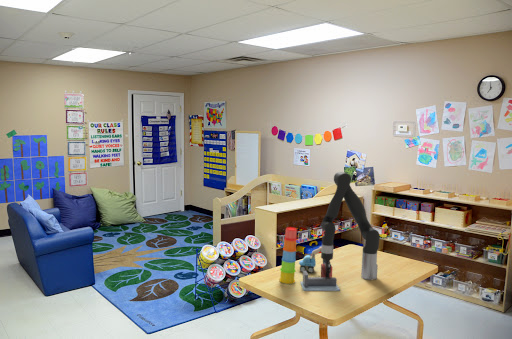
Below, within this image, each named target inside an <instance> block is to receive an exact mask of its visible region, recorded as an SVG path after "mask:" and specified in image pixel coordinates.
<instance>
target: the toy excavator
mask: <svg viewBox="0 0 512 339" xmlns="http://www.w3.org/2000/svg"><path fill="white" fill-rule="evenodd" d="M321 248H322V246H319V247H318V248H316V249H314V250H312V252H311V255H310V254H306V255H305V256H304V257H303V259H301V260H299V262H298V265H299V271H300V272H301V273H303V271H307V273H310V274H312V273H313V272H314V269H315V267H316V263H317V262H316V254H318V253H319V252H320V253H321Z"/></svg>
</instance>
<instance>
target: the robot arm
mask: <svg viewBox="0 0 512 339" xmlns="http://www.w3.org/2000/svg"><path fill="white" fill-rule="evenodd" d="M333 182H334V184H335V185H336V190H335V192H334V194H333V197H332V198H331V200H330V201H329V205H328V207H327V210H326V214H325V215H324V217H323V219H322V221H321V228H322V230H323V231H324V233H323V235H322V239H321V247H322V248H321V251H320V253H321V254H320V258H321V259H322V264H324V265H325V269H326V277H329V273H331V266H332V264H331V261H332V260H333V258H334V238H335V233H336V225H335V223H334V220H335V219H337V217H338V215H339V212H340V209H341V204H342V202H343V200H344V202H345V204H346V205H347V208H348V210H349V212H350V213H351V215H352V218H353V219H354V221H355V223H356V224H357V226H358V228H359V232H360V234H361V236H362V238H363V240H365V243H364V246H363V247H362V256H361V274H360V275H361V278H362V279H363V280H369V281H373V280H378V263H377V262H378V250H379V247H380V232H379V231H378V230H377V229H375V228H374V227H373V226H372V225H371V224H370V222H369V221H368V217H367V212H366V208H365V205H363V202H362V200H361V198H359V196H358V195H357V193H356V192H355V191H354V190H353V189H352V186H351V182H352V177H351V175H350V174H349V173H347V172H344V171H338V172H335V174H334V175H333ZM326 267H327V268H326ZM328 270H329V271H328Z"/></svg>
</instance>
